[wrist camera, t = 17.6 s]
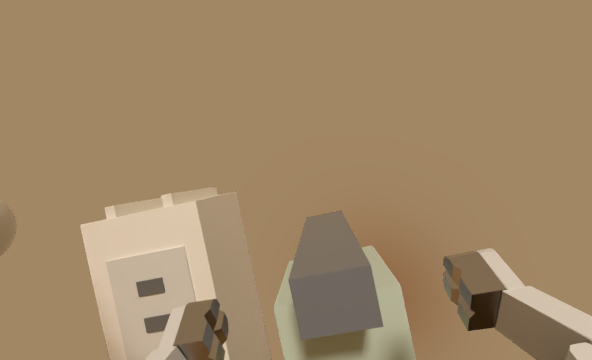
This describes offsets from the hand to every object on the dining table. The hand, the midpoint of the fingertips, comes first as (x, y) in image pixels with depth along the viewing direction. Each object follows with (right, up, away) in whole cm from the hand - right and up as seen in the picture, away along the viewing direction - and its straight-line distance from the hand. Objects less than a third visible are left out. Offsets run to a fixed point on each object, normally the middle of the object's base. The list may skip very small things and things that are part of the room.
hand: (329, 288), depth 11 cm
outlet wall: (-10, -29, +26) cm, 40 cm away
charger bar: (+2, -3, +14) cm, 14 cm away
